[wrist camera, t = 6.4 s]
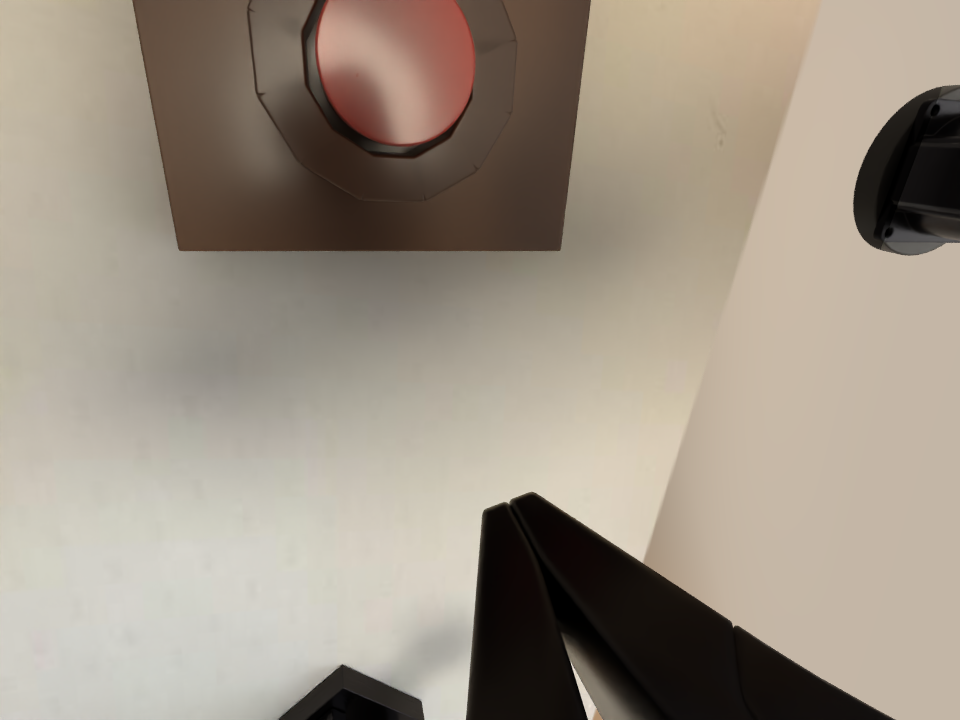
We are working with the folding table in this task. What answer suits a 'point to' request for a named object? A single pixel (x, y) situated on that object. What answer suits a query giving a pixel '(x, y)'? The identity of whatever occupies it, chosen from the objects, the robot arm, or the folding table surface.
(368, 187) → the box
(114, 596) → the folding table surface
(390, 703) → the switch bracket
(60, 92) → the folding table surface
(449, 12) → the power button
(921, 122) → the robot arm
